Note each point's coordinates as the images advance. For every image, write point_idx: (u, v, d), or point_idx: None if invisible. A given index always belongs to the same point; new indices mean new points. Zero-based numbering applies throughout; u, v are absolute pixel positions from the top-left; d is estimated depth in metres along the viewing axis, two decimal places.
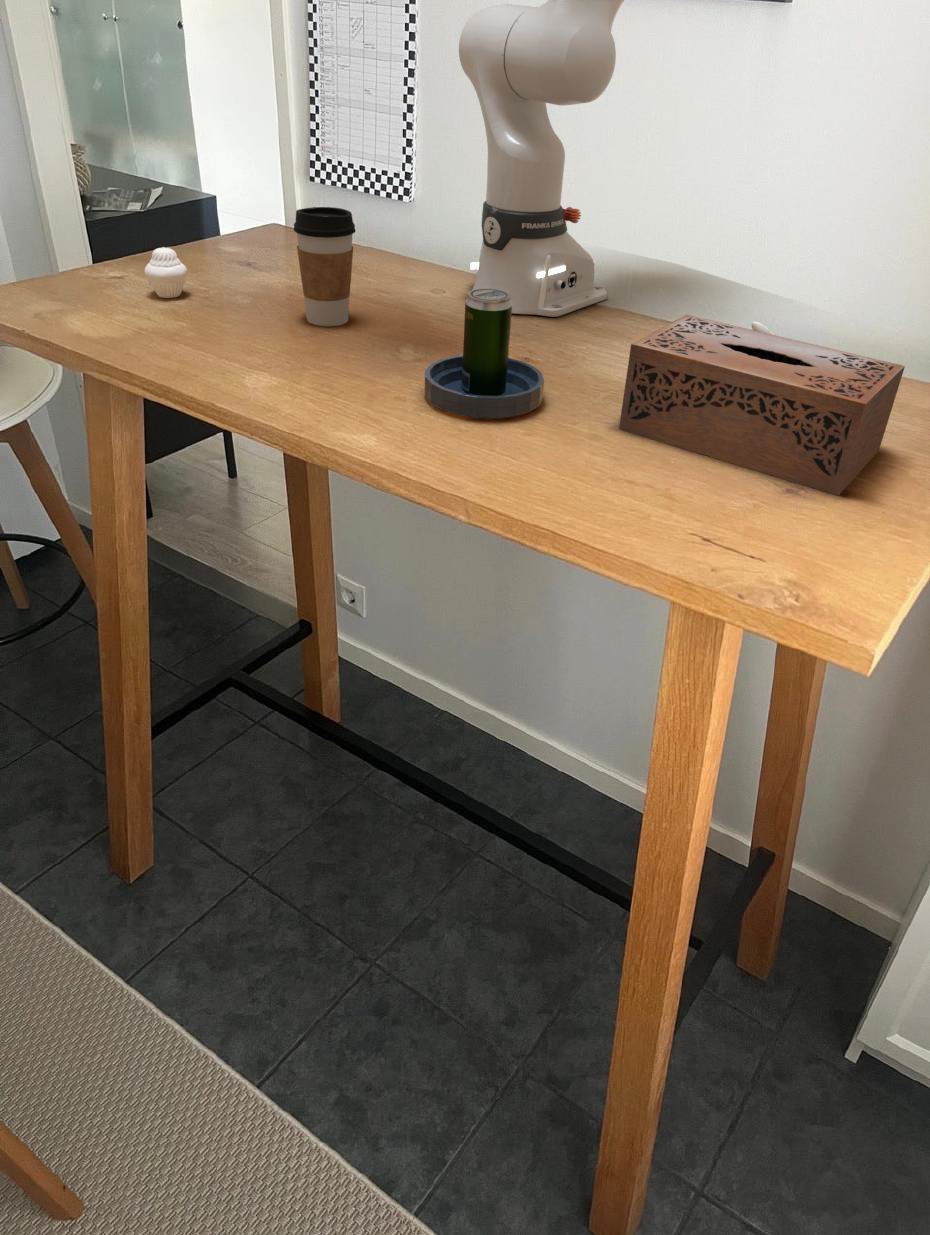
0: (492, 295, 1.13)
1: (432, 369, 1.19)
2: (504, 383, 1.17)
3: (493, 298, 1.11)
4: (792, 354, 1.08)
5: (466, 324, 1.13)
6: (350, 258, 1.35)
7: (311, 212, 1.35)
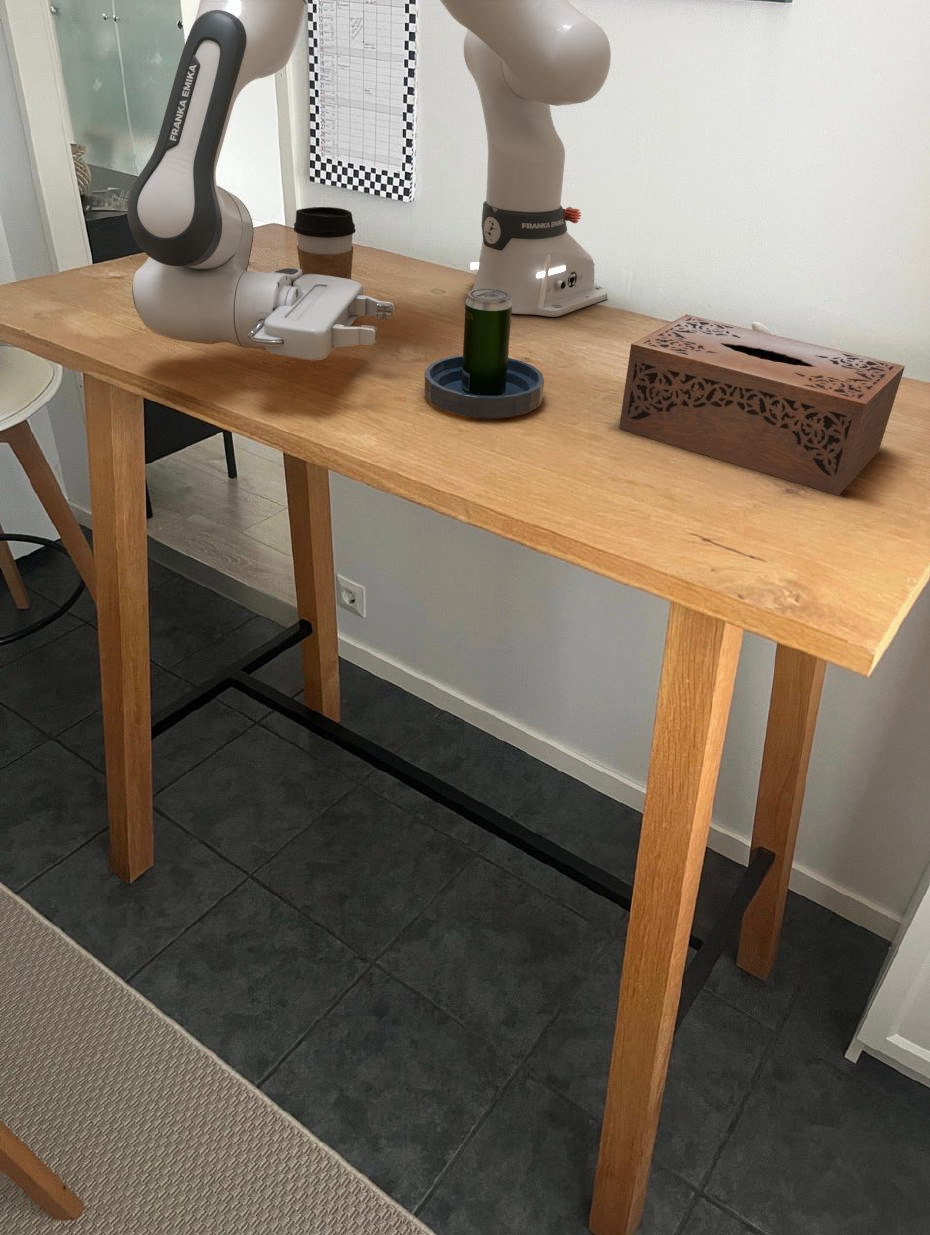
0: (492, 295, 1.13)
1: (432, 369, 1.19)
2: (504, 383, 1.17)
3: (493, 298, 1.11)
4: (793, 354, 1.08)
5: (466, 324, 1.13)
6: (350, 258, 1.35)
7: (311, 212, 1.35)
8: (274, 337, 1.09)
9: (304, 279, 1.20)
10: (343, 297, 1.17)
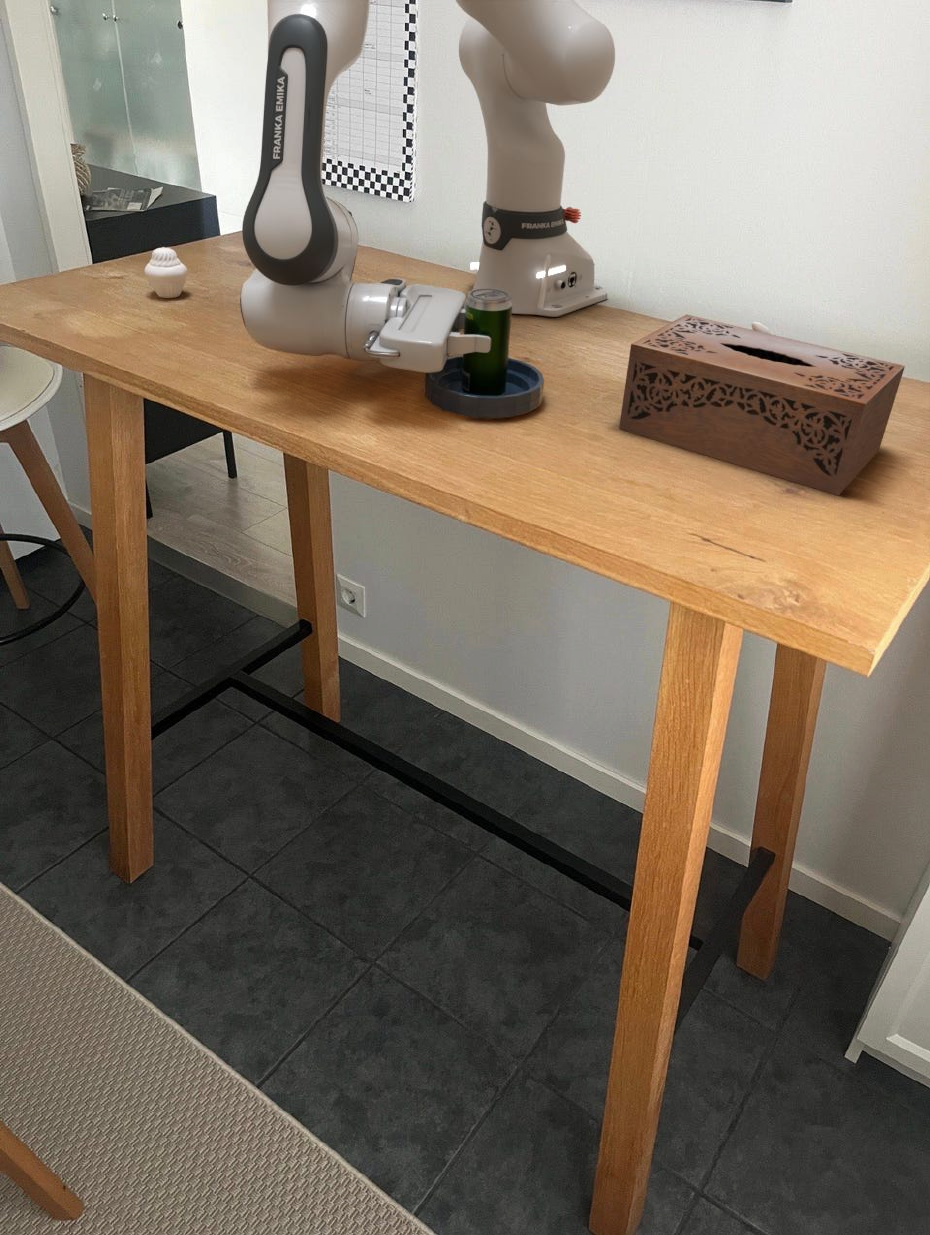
0: (492, 295, 1.13)
1: None
2: (504, 383, 1.17)
3: (493, 298, 1.11)
4: (793, 354, 1.08)
5: (466, 324, 1.13)
6: None
7: None
8: (390, 350, 1.08)
9: (410, 290, 1.19)
10: (452, 308, 1.16)
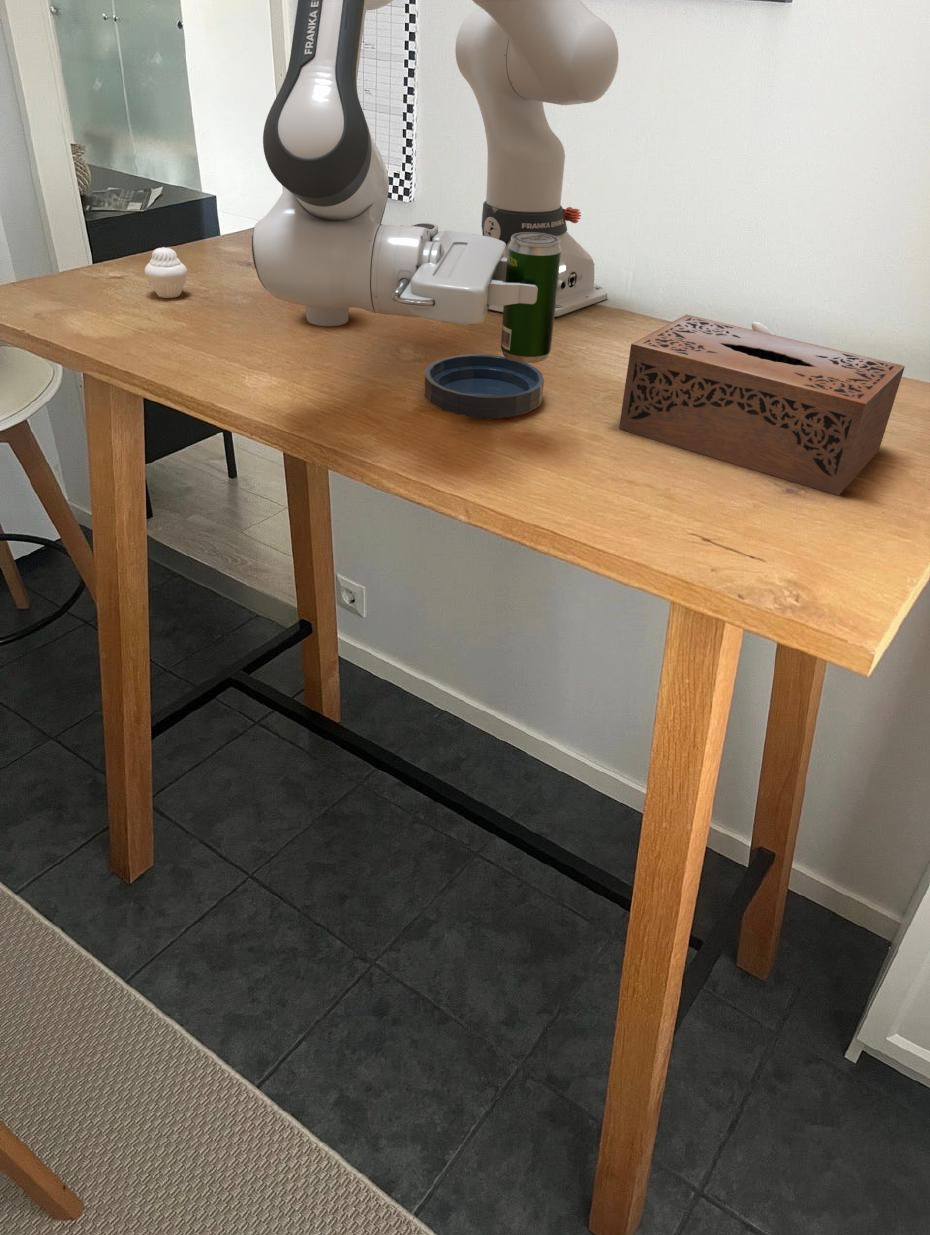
0: (539, 239, 0.98)
1: (432, 369, 1.19)
2: (550, 341, 1.03)
3: (541, 241, 0.97)
4: (793, 354, 1.08)
5: (509, 272, 0.99)
6: None
7: None
8: (424, 297, 0.93)
9: (443, 235, 1.05)
10: (491, 255, 1.02)
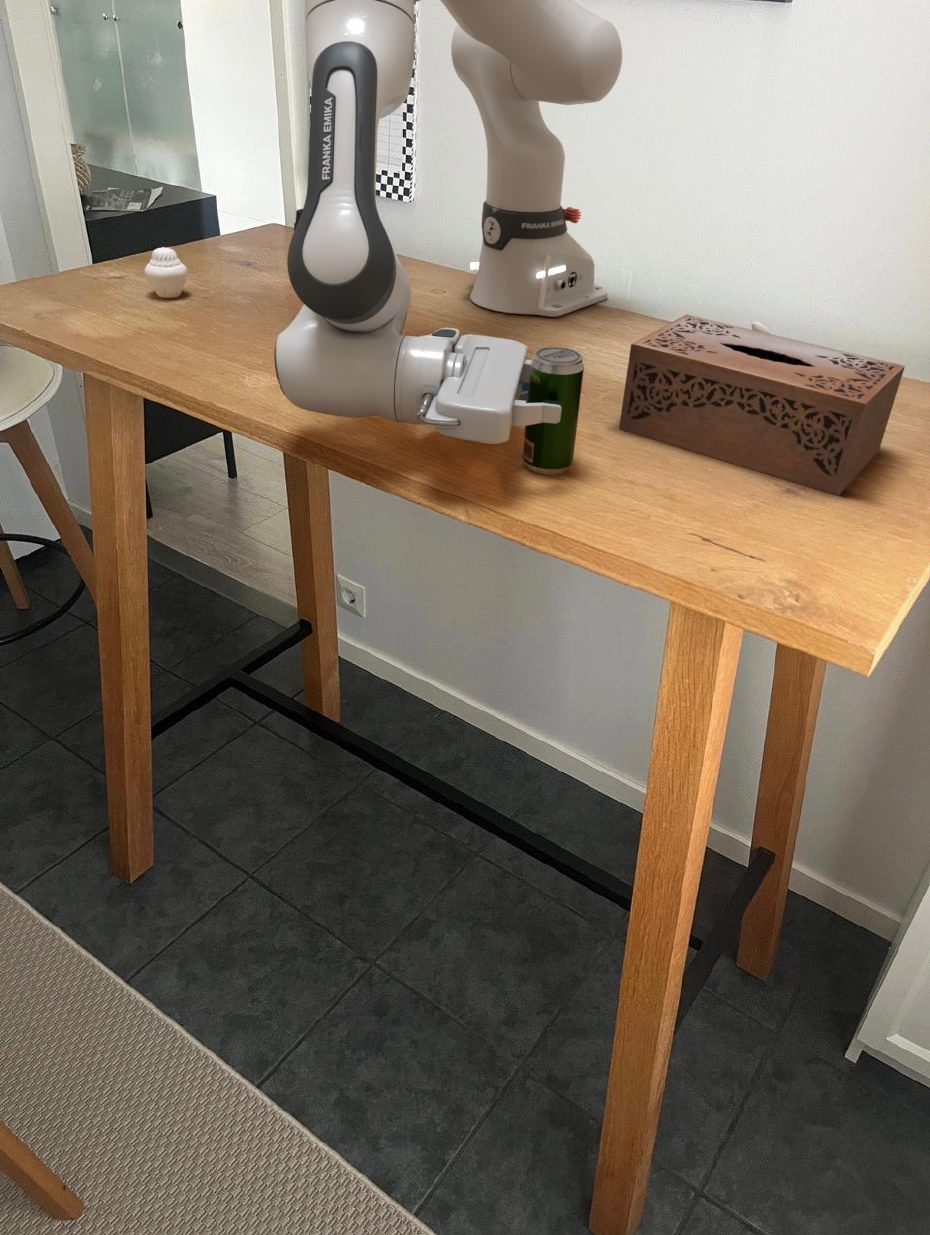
0: (562, 355, 0.98)
1: None
2: (572, 453, 1.03)
3: (564, 360, 0.97)
4: (793, 353, 1.08)
5: (531, 388, 0.99)
6: None
7: None
8: (449, 418, 0.93)
9: (465, 342, 1.04)
10: (514, 365, 1.02)
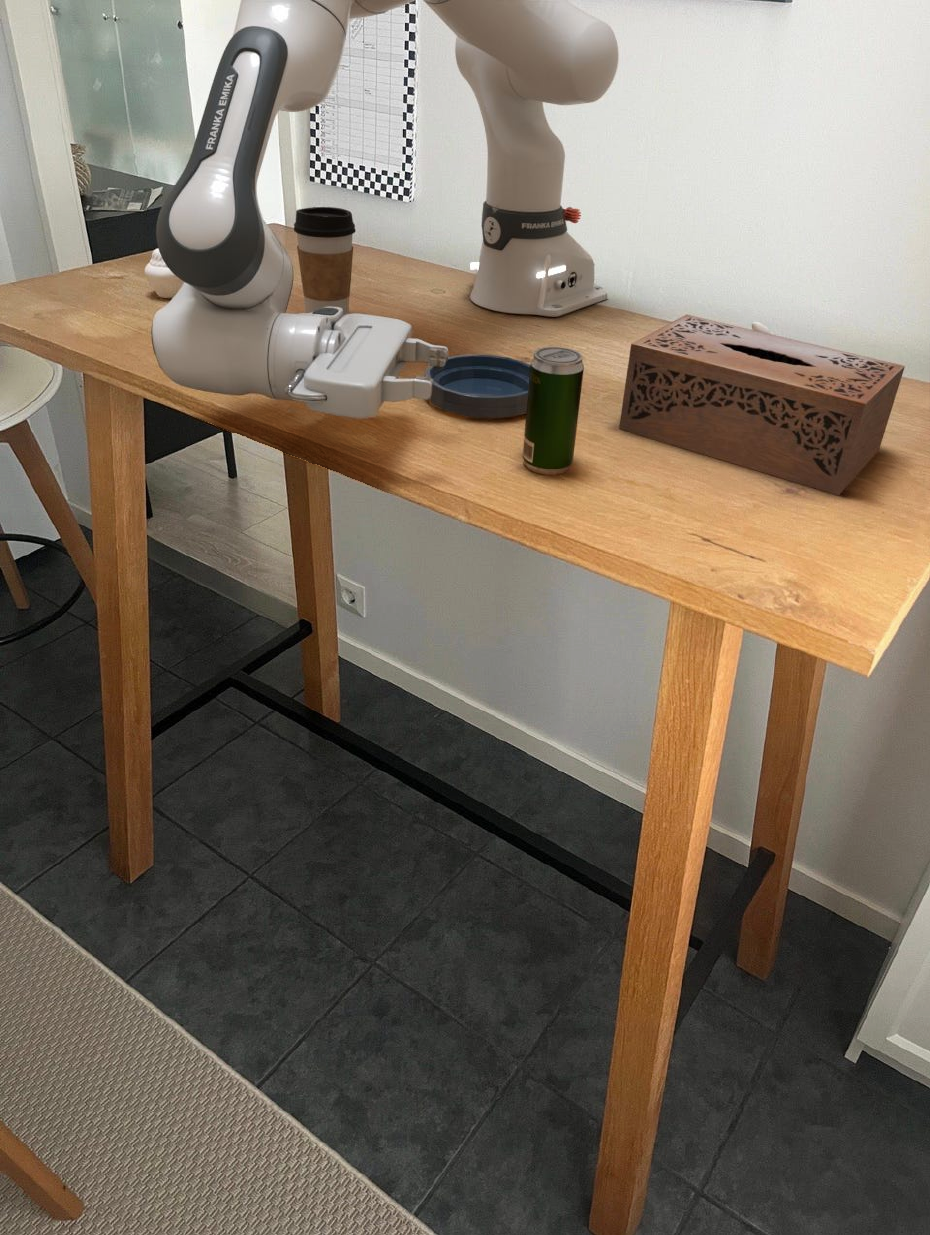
0: (562, 355, 0.98)
1: (432, 369, 1.19)
2: (572, 453, 1.03)
3: (564, 360, 0.97)
4: (793, 353, 1.08)
5: (531, 388, 0.99)
6: (350, 258, 1.35)
7: (311, 212, 1.35)
8: (316, 392, 0.93)
9: (346, 320, 1.05)
10: (392, 342, 1.02)
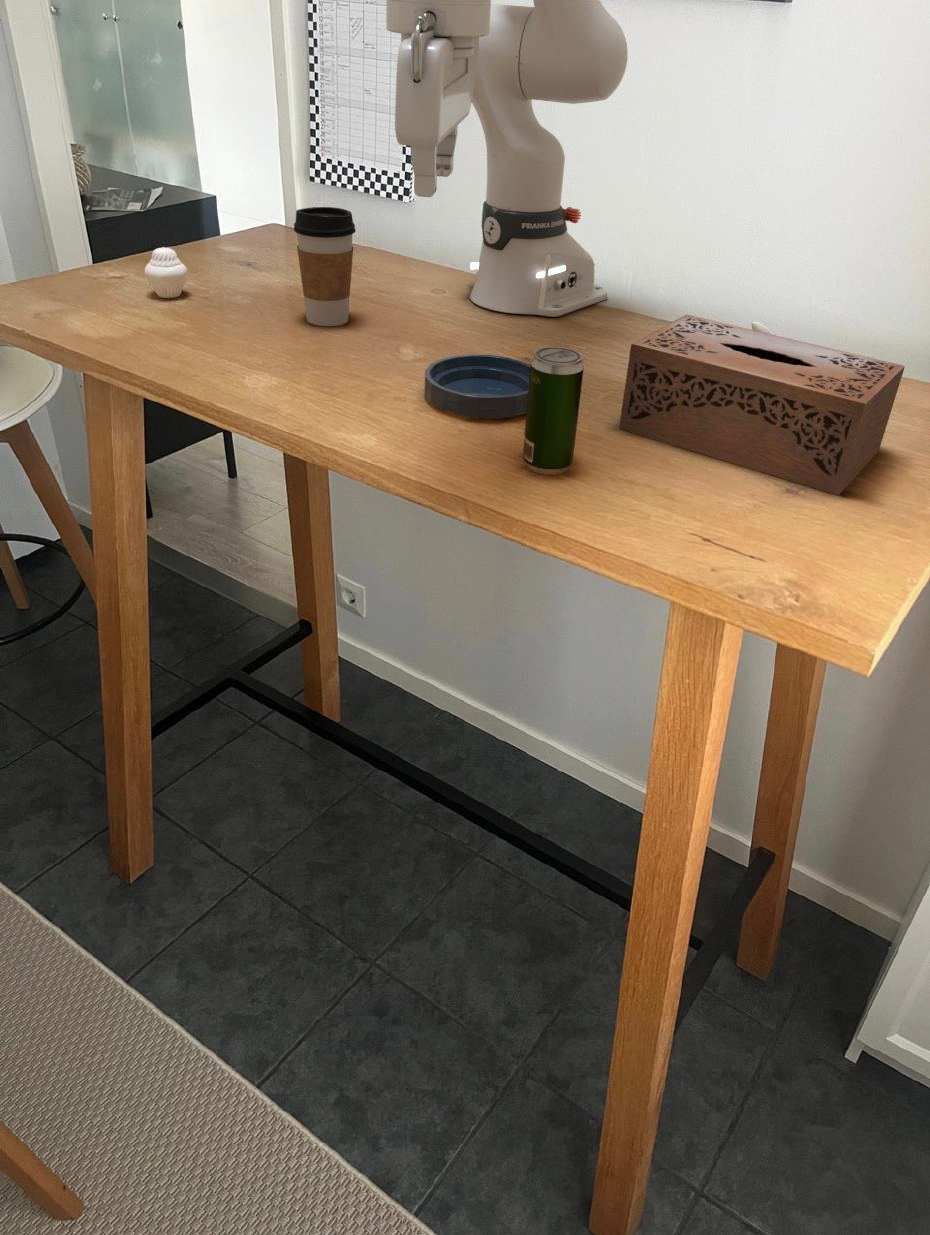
0: (561, 355, 0.98)
1: (432, 369, 1.19)
2: (572, 453, 1.03)
3: (564, 360, 0.97)
4: (793, 353, 1.08)
5: (531, 388, 0.99)
6: (350, 258, 1.35)
7: (311, 212, 1.35)
8: (422, 68, 0.77)
9: None
10: (459, 117, 0.90)
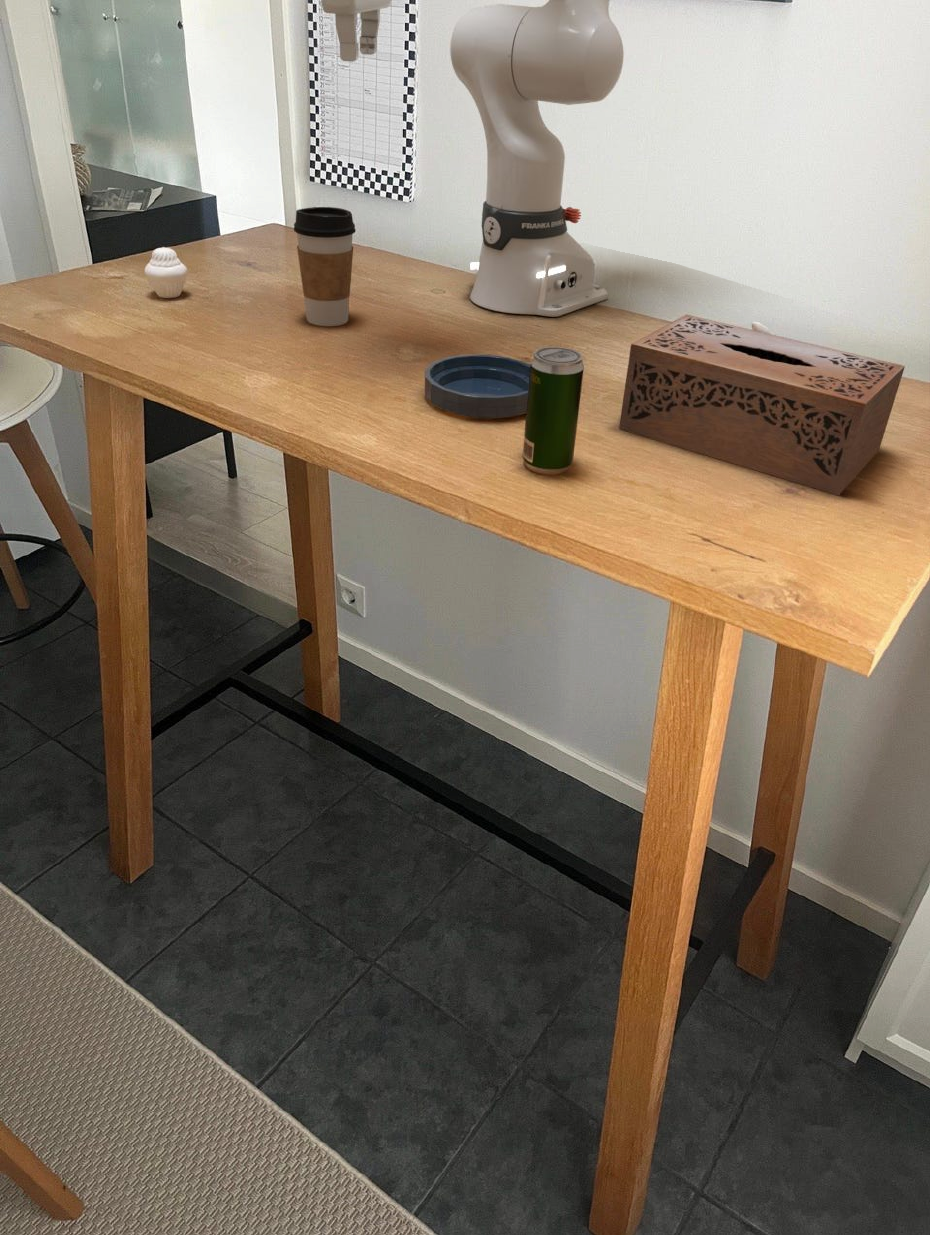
0: (562, 355, 0.98)
1: (432, 369, 1.19)
2: (572, 453, 1.03)
3: (564, 360, 0.97)
4: (793, 354, 1.08)
5: (531, 388, 0.99)
6: (350, 258, 1.35)
7: (311, 212, 1.35)
8: None
9: None
10: (378, 2, 1.12)
